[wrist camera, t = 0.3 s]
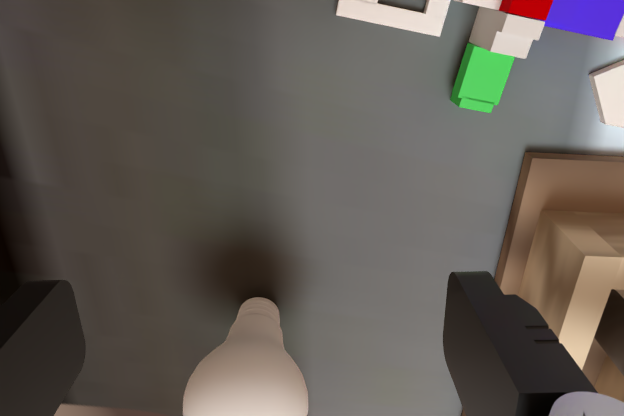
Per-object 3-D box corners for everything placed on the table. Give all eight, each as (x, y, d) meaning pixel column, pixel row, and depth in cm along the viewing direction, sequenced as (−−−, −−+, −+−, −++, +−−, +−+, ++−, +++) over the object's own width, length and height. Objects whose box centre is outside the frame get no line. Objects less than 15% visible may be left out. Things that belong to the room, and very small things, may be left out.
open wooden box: (541, 209, 28) (585, 255, 24) (691, 216, 29) (763, 263, 24) (479, 438, 36) (503, 505, 32) (598, 441, 36) (639, 509, 32)
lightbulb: (327, 298, 32) (336, 446, 22) (271, 358, 34) (256, 519, 24) (247, 247, 30) (217, 383, 20) (193, 313, 32) (143, 466, 23)
